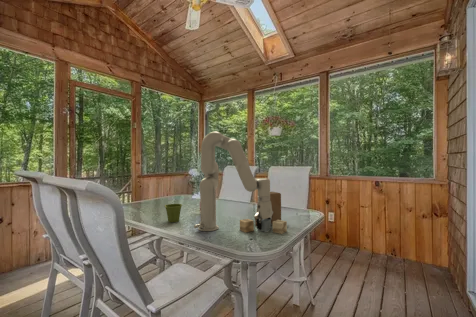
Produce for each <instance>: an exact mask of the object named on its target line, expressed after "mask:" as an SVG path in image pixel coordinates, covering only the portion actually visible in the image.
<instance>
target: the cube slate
mask: <svg viewBox="0 0 476 317" xmlns="http://www.w3.org/2000/svg"><path fill="white" fill-rule="evenodd" d="M259 220H260V219H259ZM261 223H262V229H261V230H259V229H257V228H256V229H257V231H259V232H260V231H261V232H266V233H267V232H269V231H271V230H272V226H271V225H272V224H271V219H262V221H261Z"/></svg>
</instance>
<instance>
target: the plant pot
mask: <svg viewBox="0 0 476 317" xmlns="http://www.w3.org/2000/svg"><path fill="white" fill-rule="evenodd" d="M182 206H183V204H182V203H170V204H169V203H168V204H165V205H164V207H165V210H166V216H167V222H168V223H177V222H178V223H179V221H180V215H181V210H182Z"/></svg>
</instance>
